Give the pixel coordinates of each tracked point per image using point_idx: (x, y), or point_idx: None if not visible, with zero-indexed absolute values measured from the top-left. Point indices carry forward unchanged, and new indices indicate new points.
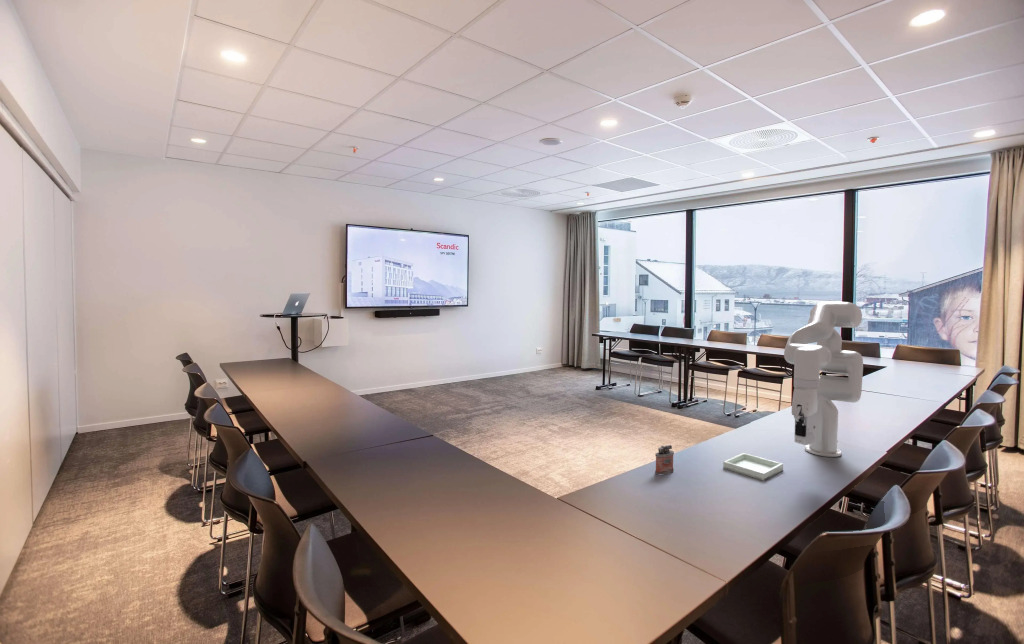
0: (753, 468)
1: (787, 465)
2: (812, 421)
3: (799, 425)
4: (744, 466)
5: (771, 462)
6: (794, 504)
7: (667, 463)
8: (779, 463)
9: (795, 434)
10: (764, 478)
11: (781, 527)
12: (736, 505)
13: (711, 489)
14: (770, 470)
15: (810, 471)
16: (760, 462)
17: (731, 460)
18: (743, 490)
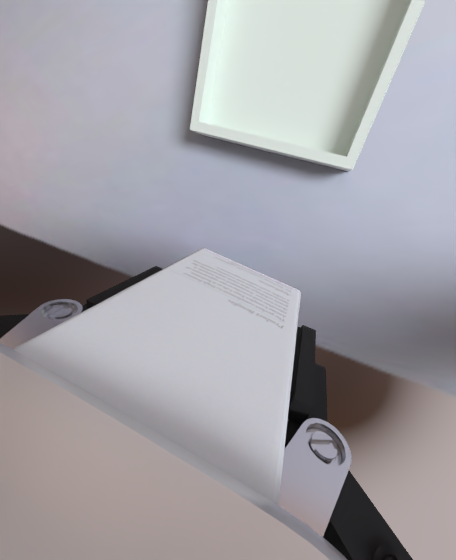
0: (286, 55)
1: (431, 176)
2: None
3: None
4: (291, 4)
5: (364, 113)
6: (112, 235)
7: None
8: (348, 154)
9: (156, 268)
10: (202, 134)
11: (21, 224)
12: (22, 122)
13: (40, 10)
14: (237, 141)
15: (386, 262)
16: (387, 53)
17: None
18: (98, 103)
